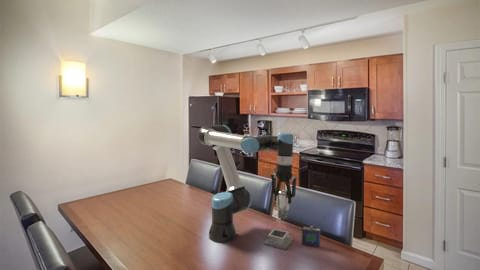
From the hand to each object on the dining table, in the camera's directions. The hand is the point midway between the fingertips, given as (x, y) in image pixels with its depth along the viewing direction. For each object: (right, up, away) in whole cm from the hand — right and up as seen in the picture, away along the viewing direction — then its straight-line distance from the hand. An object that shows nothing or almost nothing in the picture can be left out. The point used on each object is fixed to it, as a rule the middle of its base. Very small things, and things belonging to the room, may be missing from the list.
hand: (282, 208), depth 135 cm
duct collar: (-1, -20, +5) cm, 20 cm away
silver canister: (0, -5, +1) cm, 5 cm away
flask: (+15, -20, +2) cm, 25 cm away
